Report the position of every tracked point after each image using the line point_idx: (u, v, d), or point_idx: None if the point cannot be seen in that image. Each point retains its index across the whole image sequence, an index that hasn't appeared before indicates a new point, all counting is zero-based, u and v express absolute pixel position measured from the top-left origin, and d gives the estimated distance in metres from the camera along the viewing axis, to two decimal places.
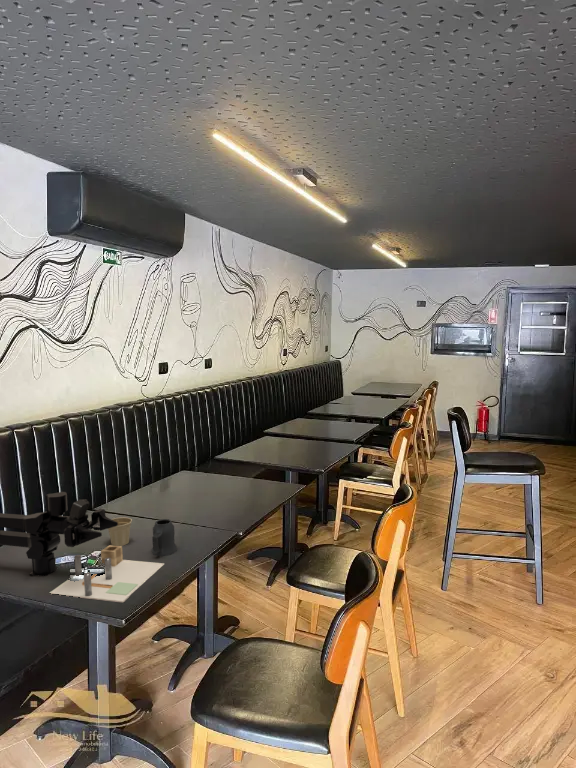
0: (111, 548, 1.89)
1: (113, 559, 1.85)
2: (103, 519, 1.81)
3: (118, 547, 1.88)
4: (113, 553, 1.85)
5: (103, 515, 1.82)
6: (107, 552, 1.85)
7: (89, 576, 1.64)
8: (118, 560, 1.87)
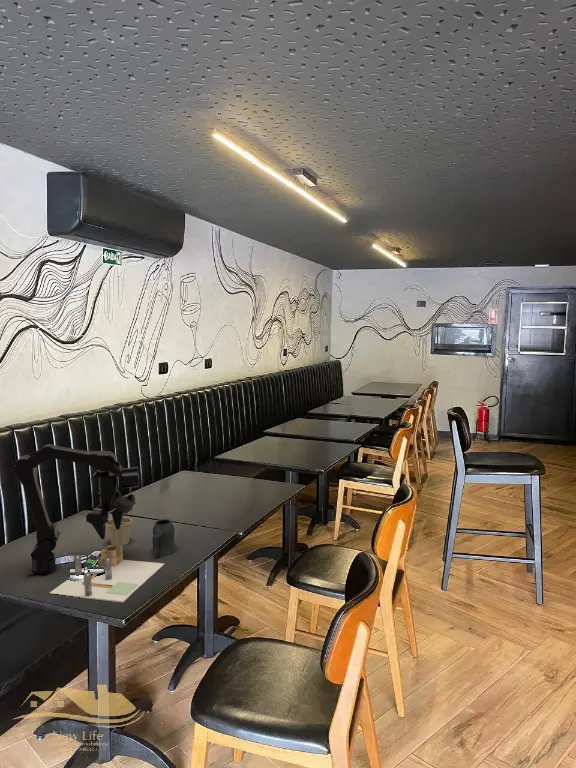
0: (111, 548, 1.89)
1: (113, 559, 1.85)
2: (120, 514, 1.91)
3: (118, 547, 1.88)
4: (113, 553, 1.85)
5: None
6: (107, 552, 1.85)
7: (89, 576, 1.64)
8: (118, 560, 1.87)
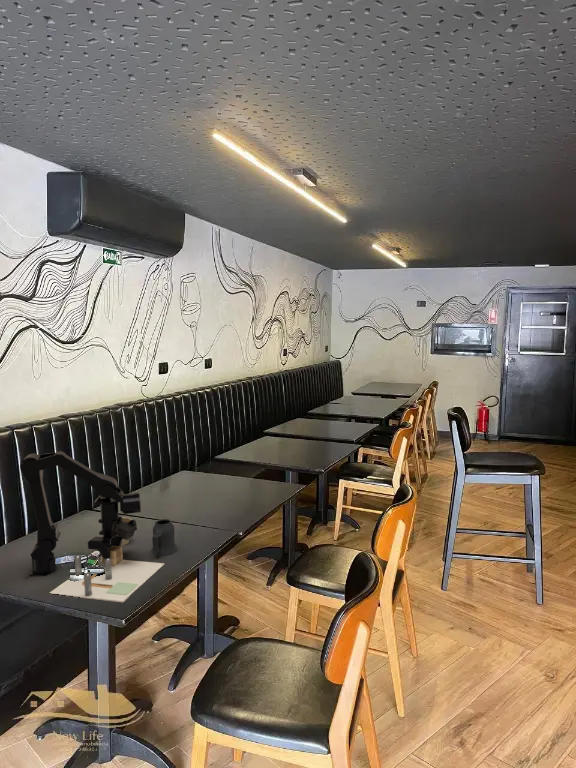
0: (111, 548, 1.89)
1: (113, 559, 1.85)
2: (118, 541, 1.90)
3: (118, 547, 1.88)
4: (113, 553, 1.85)
5: (122, 539, 1.91)
6: None
7: (89, 576, 1.64)
8: (118, 560, 1.87)
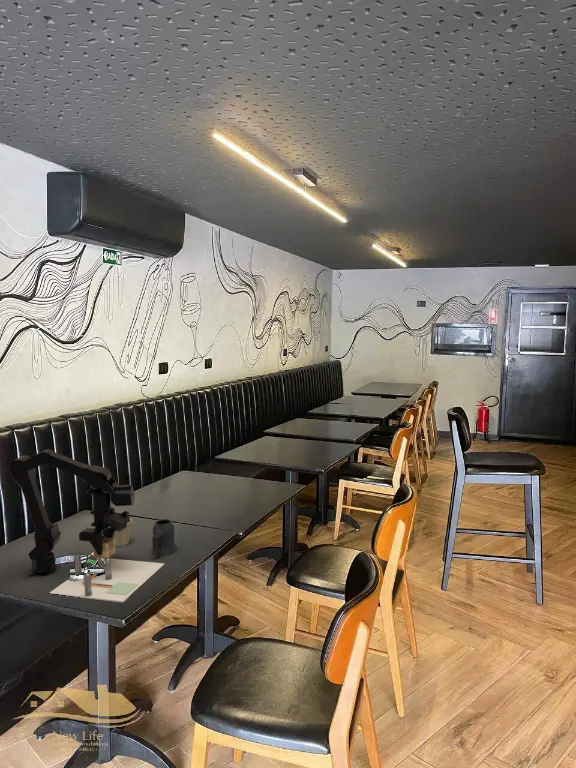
0: (103, 540, 1.85)
1: (105, 551, 1.80)
2: (111, 533, 1.86)
3: (110, 539, 1.84)
4: (105, 545, 1.80)
5: (115, 531, 1.86)
6: None
7: (89, 576, 1.64)
8: (110, 552, 1.83)
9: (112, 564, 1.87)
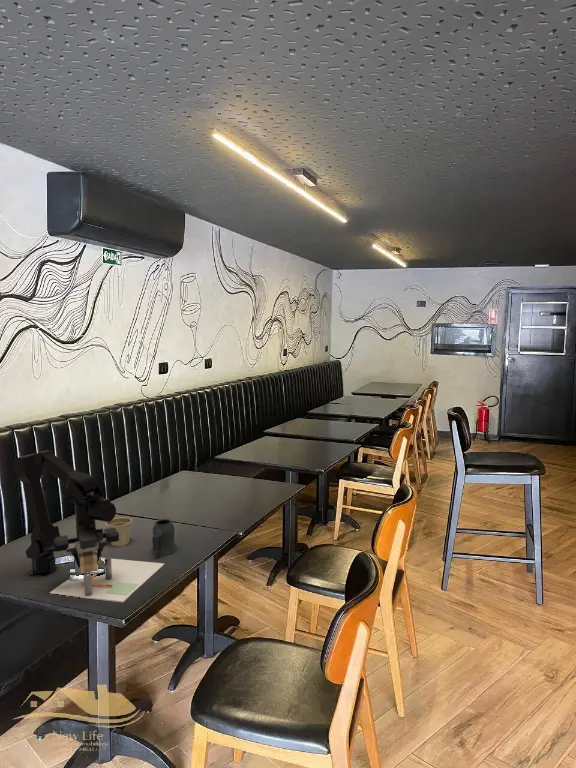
0: (92, 553, 1.74)
1: (80, 565, 1.70)
2: (97, 548, 1.73)
3: (91, 555, 1.71)
4: (79, 559, 1.69)
5: (101, 547, 1.72)
6: (79, 556, 1.71)
7: (89, 576, 1.64)
8: (88, 568, 1.70)
9: (112, 564, 1.87)
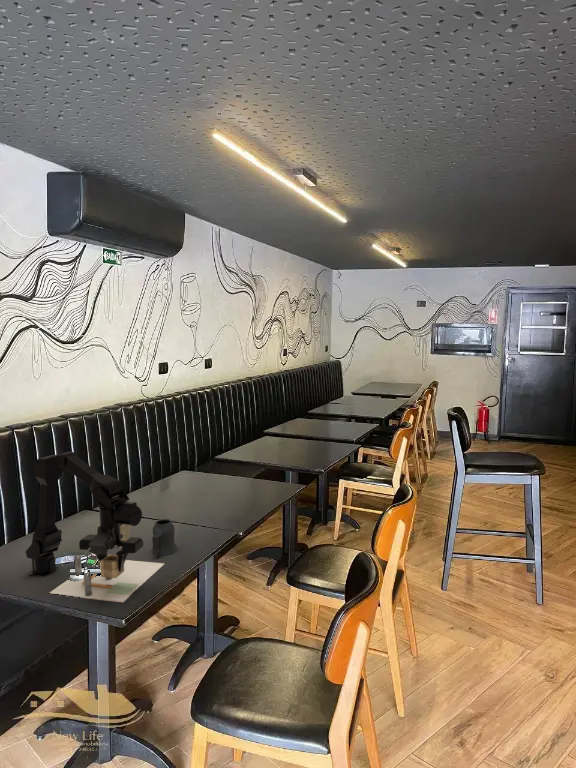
0: None
1: None
2: None
3: (111, 561, 1.67)
4: None
5: (120, 555, 1.66)
6: None
7: (89, 576, 1.64)
8: (107, 574, 1.67)
9: None
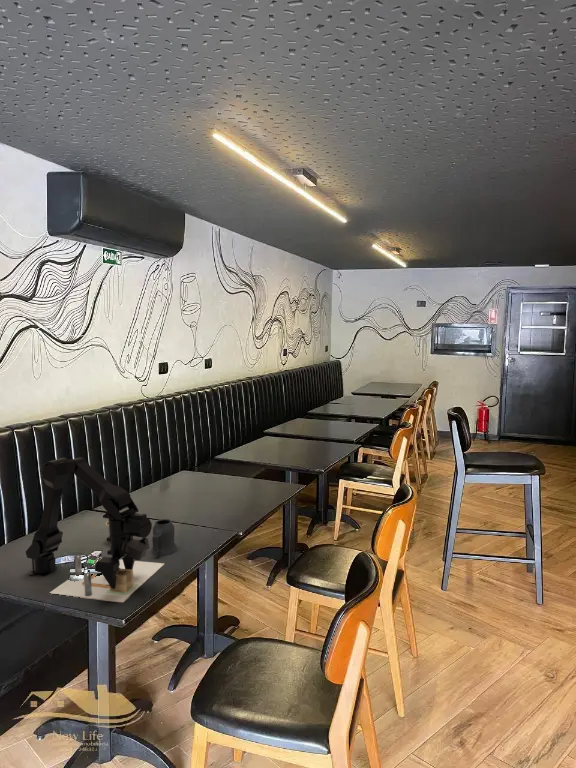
0: (121, 572, 1.70)
1: (123, 585, 1.66)
2: (132, 559, 1.73)
3: (128, 571, 1.69)
4: (123, 578, 1.66)
5: None
6: (116, 577, 1.66)
7: (89, 576, 1.64)
8: (128, 585, 1.68)
9: None
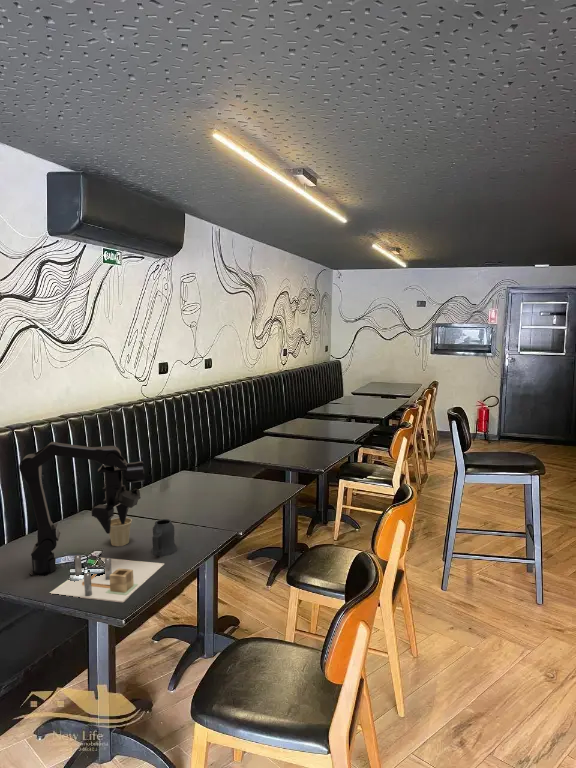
0: (121, 572, 1.70)
1: (123, 585, 1.66)
2: (125, 509, 1.92)
3: (128, 571, 1.69)
4: (123, 578, 1.66)
5: (129, 506, 1.93)
6: (116, 577, 1.66)
7: (89, 576, 1.64)
8: (128, 585, 1.68)
9: (112, 564, 1.87)
